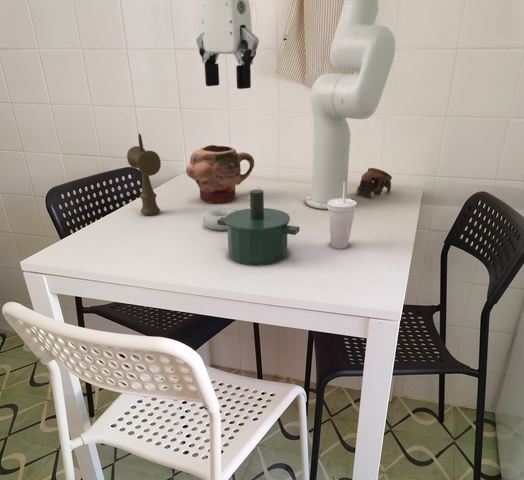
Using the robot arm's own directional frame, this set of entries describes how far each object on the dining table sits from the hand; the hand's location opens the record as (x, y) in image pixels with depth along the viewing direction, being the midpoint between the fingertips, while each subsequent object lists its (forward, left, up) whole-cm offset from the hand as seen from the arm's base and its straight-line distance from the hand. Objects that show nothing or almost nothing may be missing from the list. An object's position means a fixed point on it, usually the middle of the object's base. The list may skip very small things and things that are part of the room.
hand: (227, 87), depth 102 cm
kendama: (-8, -29, -32) cm, 44 cm away
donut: (-6, -6, -32) cm, 33 cm away
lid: (+8, +10, -24) cm, 27 cm away
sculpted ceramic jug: (-27, -17, -32) cm, 45 cm away
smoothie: (-3, +25, -32) cm, 40 cm away
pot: (+8, +10, -32) cm, 34 cm away
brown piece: (-45, +23, -32) cm, 59 cm away
